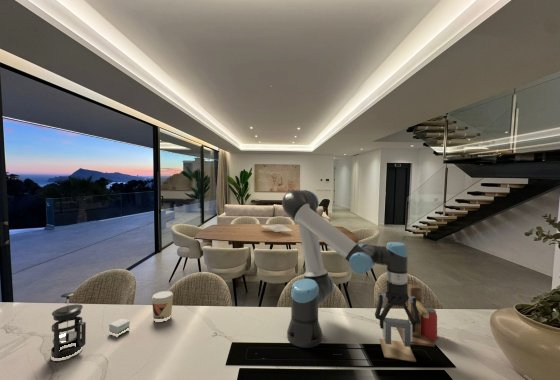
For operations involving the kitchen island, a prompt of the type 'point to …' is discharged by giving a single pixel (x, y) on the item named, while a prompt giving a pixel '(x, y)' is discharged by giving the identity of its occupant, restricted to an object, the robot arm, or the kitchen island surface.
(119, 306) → the kitchen island surface
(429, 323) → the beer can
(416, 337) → the stand
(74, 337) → the french press
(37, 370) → the kitchen island surface
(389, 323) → the gray arch block
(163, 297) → the coffee cup
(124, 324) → the small box
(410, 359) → the coaster
